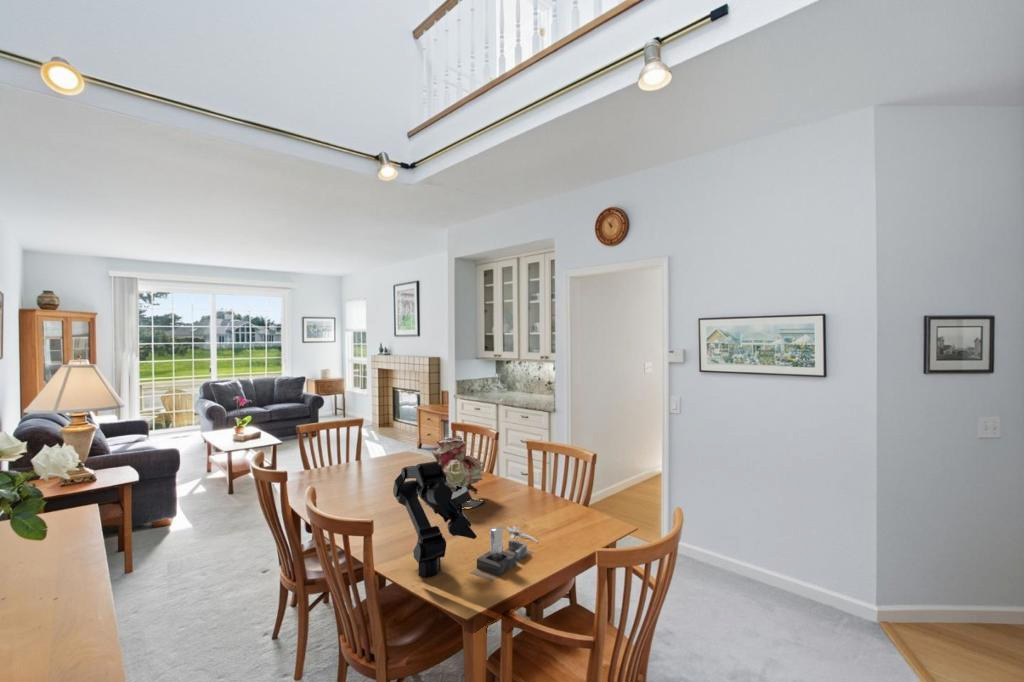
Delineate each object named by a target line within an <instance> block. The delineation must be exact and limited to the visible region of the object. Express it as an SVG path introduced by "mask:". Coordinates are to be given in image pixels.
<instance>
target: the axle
mask: <svg viewBox="0 0 1024 682" xmlns="http://www.w3.org/2000/svg"><path fill="white" fill-rule="evenodd" d="M503 531H504V530H503V527H501V526H492V527H490V528H489V543H490V544H489V545H490V546H489V548H490V549H489V551H490V560H492V561H495V562H500V561H501V560H503V551H504V545H503V544H504V539H503V537H504V536H503Z"/></svg>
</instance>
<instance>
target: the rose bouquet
mask: <svg viewBox="0 0 1024 682" xmlns="http://www.w3.org/2000/svg"><path fill="white" fill-rule="evenodd" d="M436 443H437V445H438V446H439V447H438V448H434V449H430V451H431V454H432V456H433V458H434V459H435V461H437V462H438V463H439V464H440V465H441V467H442V469H443V471H444V473H445V475H446V480H447V482H445V485H447V486H448V487H449V488H450V489H451V491H452V494H453V492H455V486H456V485H458V484H459V485H460V486H462V487H463V486H464V487H466V488H467V489H468V491H472V492H473V494H474V495H478V488H476V487H475V486H474V485H472V484H478V483H479V481H483V478H482V476H483V474H482V473H481V472H483V468H484V467H483V462H482V461H481V460H480V459H478V458H476V457H475V456H473V455H471V454H470V455H469V454H468V455H467V454H466V453H467V450H466V449H464V447H465V446H466V444H467V442H466V441H464V440H463V437H461V435H459V434H457V435H456V436H454V437H447V438H444V439H443V440H440V441H438V440H437V441H436ZM472 497H473V496H471V498H472ZM482 503H486V501H485V500H484V501H480V500H477V499H476V500H474V499H471V501H470V502H465V503H464V504H462V508H464V507H472V508H471V509H474V508H477V507H478V506H479V505H481V504H482ZM473 507H474V508H473Z"/></svg>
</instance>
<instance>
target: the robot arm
mask: <svg viewBox="0 0 1024 682" xmlns="http://www.w3.org/2000/svg"><path fill="white" fill-rule="evenodd" d="M408 479H411V480H408ZM412 479H413V480H412ZM406 480H407V481H406ZM445 482H447V480H446V475H445V473H444V471H443V469H442V467H441V465H440V463H439V462H437V460H434V461H429V462H427V461H426V462H421V463H418V464H416V465H409V466H404V467H403V468H401V472H400V474H399V475H398V476H397V477H396V478H395V480H394V484H393V488H392V489H393V490H392V493H393V496H394V498H395V499H396V501H397V502H398V504H399V505H402V506H403V507H405V508H406V511H407V513H408V516H409V518H410V520H411V523H412V525H413V527H414V529H415V532H416V535H417V542H416V546H415V547H414V549H413V558H414V560H415V561H416V563H417V564H418V576H419V577H420V578H424V579H428V578H433V577H436V576H437V575H439V572H440V571H441V569H442V568H441V565H442V564H441V558H445V556H446V551H447V541H446V539H445V537H444V536H443V533H442V531H441V530H440V527H439V526H438V525H434V526H432V525H431V523H430V521H429V518H428V517H427V515H426V512H425V510H424V508H423V505H422V503H421V502H420V500H423V501H424V502H423V501H422V502H423V503H424V504H425V503H426V504H428V505H429V506H428V505H427V506H428V507H430V508H431V509H432V510H433V512H434V514H435V515H439V516H440V517H441V518H442V519H443V521H444V522H445V523H447V522H448V523H447V530H448V533H449V534H450V535H451V536H453V537H457V536H458V537H463V538H468V539H472V540H476V538H477V537H478V536H477V535H476V533H475V531H473V529H472V527H471V526H472V523H471V522H470V519H469V518H468V516H467V515H466V513H464V512H463V510H462V504H464V503H465V502H467V501H470V500H471V499H472V498H471V497H472V495H471V493H470V492H469V491H470V490H468V489H467V488H466V487H464V486H463V487H462V486H460V485H459V484H458V485H456V486H455V492H453V494H452V491H451V489H450V488H449V487H448V486H447V485H445ZM419 498H420V500H419ZM426 504H425V505H426Z"/></svg>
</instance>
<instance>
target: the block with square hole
mask: <svg viewBox="0 0 1024 682" xmlns="http://www.w3.org/2000/svg"><path fill="white" fill-rule="evenodd" d="M534 553H535V552H534V551H530V550H528V546H527V544H526V542H524V541H523V542H522V541H517V540H516V539H512V538H510V539H509V540H508V547H507V548H506V549H505V550H503V560H501V561H500V562H495V561H492V560H490V550H489V551H487V552H485V553H484V554H482V555H481V556H478V557H477V558H476V568H475V569H474V570H471V571H470V572H469V574H471V575H474V576H476V577H480V578H482V579H484V580H487V581H490V582H494V581H496V579H498V578H500V577H501V576H503V575H504V574H506V573H507V572H508V571H510V570H511V569H512V568H514V567H516V566H517V565H518V564H520V563H522V561H524V560H525V559H527V558H528V557H529V556H531V555H532V554H534Z"/></svg>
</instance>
